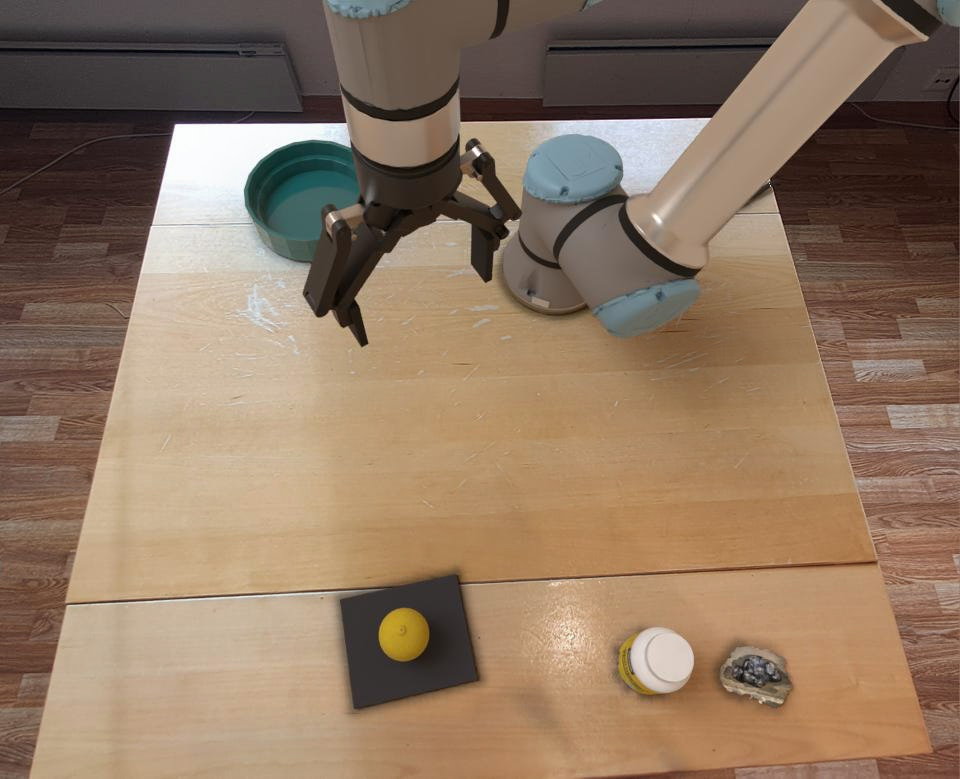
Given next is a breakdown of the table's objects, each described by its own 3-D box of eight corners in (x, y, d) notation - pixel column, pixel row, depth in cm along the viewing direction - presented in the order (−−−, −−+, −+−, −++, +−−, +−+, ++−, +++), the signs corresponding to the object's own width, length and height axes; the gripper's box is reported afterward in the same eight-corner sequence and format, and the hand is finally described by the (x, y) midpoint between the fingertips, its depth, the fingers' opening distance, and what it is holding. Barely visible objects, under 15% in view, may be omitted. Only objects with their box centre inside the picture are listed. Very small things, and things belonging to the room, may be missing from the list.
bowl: (369, 158, 111) (365, 131, 106) (388, 252, 103) (384, 228, 98) (249, 175, 109) (239, 149, 104) (259, 273, 101) (249, 250, 96)
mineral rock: (795, 706, 77) (802, 706, 76) (726, 712, 77) (732, 712, 75) (779, 643, 80) (786, 641, 78) (712, 648, 80) (718, 647, 78)
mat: (456, 574, 83) (456, 573, 82) (477, 679, 78) (477, 679, 77) (340, 600, 81) (339, 599, 81) (354, 709, 76) (353, 709, 76)
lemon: (424, 668, 77) (420, 663, 70) (377, 657, 78) (368, 651, 71) (435, 618, 80) (433, 608, 73) (389, 608, 80) (382, 597, 73)
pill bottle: (610, 637, 80) (633, 624, 70) (665, 632, 80) (695, 619, 70) (620, 697, 77) (645, 694, 67) (676, 692, 78) (709, 688, 67)
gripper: (525, 35, 51) (508, 222, 70) (209, 167, 45) (285, 332, 64) (585, 97, 48) (550, 274, 67) (257, 247, 42) (321, 394, 61)
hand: (421, 302), depth 65 cm, fingers open, 13 cm apart
